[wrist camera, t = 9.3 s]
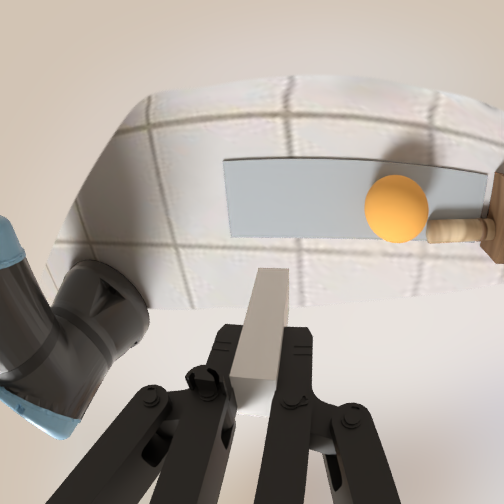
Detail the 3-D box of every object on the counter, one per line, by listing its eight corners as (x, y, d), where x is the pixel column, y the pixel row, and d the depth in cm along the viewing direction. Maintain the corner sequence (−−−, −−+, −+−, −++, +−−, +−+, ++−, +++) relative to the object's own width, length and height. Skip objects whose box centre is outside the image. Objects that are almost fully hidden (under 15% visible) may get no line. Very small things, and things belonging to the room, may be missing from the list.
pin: (423, 229, 26) (482, 226, 24) (429, 248, 25) (489, 245, 23) (429, 214, 24) (490, 213, 22) (436, 234, 23) (498, 231, 21)
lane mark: (231, 236, 30) (231, 237, 30) (223, 161, 26) (222, 161, 26) (473, 241, 25) (474, 242, 25) (486, 174, 21) (487, 175, 21)
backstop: (479, 245, 25) (495, 263, 22) (494, 172, 21) (515, 183, 17) (488, 246, 25) (504, 263, 21) (503, 173, 20) (523, 185, 17)
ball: (431, 239, 23) (379, 226, 27) (437, 176, 21) (380, 168, 25) (413, 260, 20) (351, 242, 24) (420, 184, 17) (352, 174, 22)
